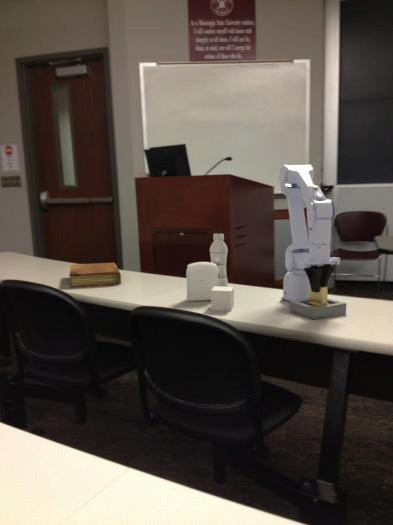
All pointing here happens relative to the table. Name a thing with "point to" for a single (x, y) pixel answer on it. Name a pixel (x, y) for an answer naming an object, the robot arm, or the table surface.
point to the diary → (94, 274)
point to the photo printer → (201, 280)
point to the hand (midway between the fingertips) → (318, 291)
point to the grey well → (318, 309)
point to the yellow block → (318, 297)
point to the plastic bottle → (219, 258)
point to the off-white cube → (222, 298)
